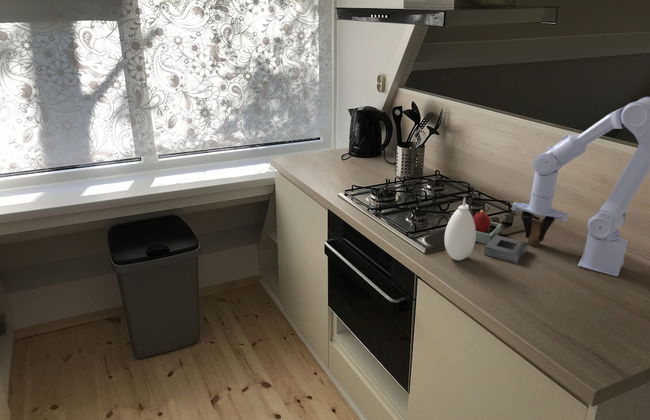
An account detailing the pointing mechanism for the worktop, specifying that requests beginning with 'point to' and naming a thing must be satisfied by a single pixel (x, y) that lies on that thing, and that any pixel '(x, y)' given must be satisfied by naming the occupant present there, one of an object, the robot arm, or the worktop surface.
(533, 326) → the worktop surface
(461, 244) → the sauce bottle
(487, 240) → the case
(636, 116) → the robot arm
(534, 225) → the tan upright cylinder
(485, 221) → the onion
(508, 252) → the gray square socket block
